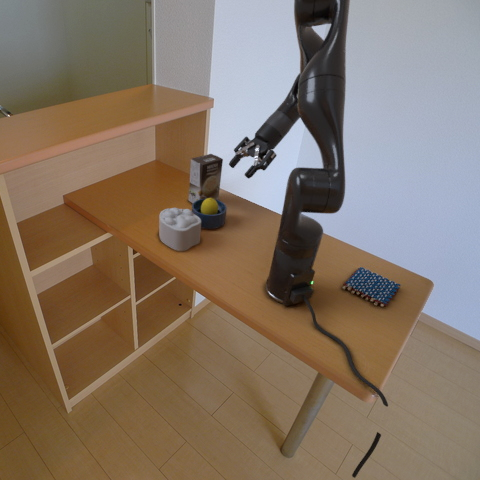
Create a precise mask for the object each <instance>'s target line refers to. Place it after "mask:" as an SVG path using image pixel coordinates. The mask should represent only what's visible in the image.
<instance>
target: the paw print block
mask: <svg viewBox="0 0 480 480" xmlns="http://www.w3.org/2000/svg"><path fill="white" fill-rule="evenodd" d="M158 217H159V218H158V226H159V227H158V231H159V233H158V235H159V236H158V237H159V240H160V242H162V243H163V244H164V245H166V246H167V247H169V248H170V249H172V250H175V251H178V252H185V251H188V250H189V249H191V248H192V247H194V246H197V245H199V244H200V242H201V231H202V228H201V219H200V218H199V217H198V216H196V215H195V214H193V213H192V209H189V208H178V207H171V208H165V209H163V210H161V211H160V213H159V216H158Z"/></svg>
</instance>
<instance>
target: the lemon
mask: <svg viewBox="0 0 480 480" xmlns="http://www.w3.org/2000/svg"><path fill="white" fill-rule="evenodd" d="M201 213H202V214H206V215H216V214H217V213H218V204H217V202H216V200H214V199H213V198H207V199H205V200H204V201H203V203H202V205H201Z"/></svg>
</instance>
